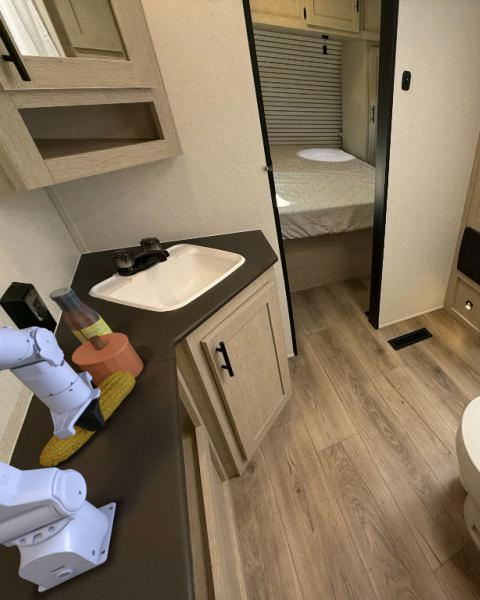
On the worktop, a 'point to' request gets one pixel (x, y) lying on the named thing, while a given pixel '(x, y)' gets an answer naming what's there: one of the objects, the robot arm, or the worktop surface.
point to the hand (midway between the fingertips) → (98, 427)
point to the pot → (115, 365)
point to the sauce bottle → (79, 315)
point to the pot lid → (100, 349)
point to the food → (60, 450)
